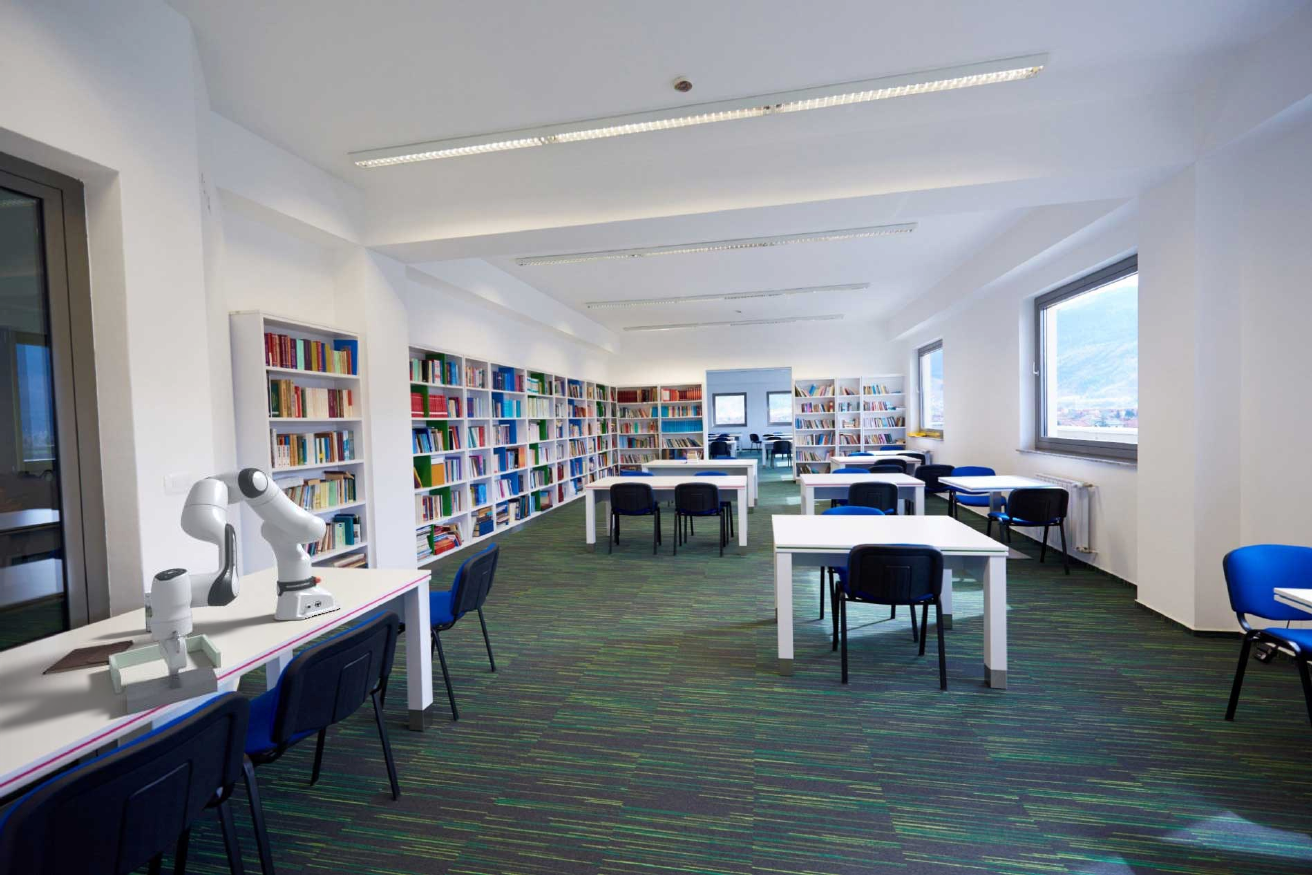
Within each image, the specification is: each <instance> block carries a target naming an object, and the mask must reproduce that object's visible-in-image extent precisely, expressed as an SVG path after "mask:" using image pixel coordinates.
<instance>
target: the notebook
mask: <svg viewBox="0 0 1312 875" xmlns="http://www.w3.org/2000/svg"><path fill="white" fill-rule="evenodd" d="M133 645H134V641H133V640H132V639H130V640H124V641H123V640H122V641H117V642H113V643H108V644H107V643H106V644H102V645H101V644H100V645H93V646H87V647H86V646H85V647H80V648H75V649H73V650H71V651H70V652H69V653H67V654H66V655H64V656H63V657H62V658H60V659H59V660H57V661H56V662H54V664H52V665H50V667H48V668H46V669H45V670H43V672H42V676H44V675H51V674H50V673H52V674H56V673H62V672H63V673H65V672H69V671H70V672H71V671H76V670H83V669H90V668H96V667H103V666H109V655H113V654H117V653H122V652H126V651H127V650H128V649H129V648H131V646H133Z"/></svg>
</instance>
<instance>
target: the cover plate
mask: <svg viewBox="0 0 1312 875" xmlns="http://www.w3.org/2000/svg"><path fill="white" fill-rule="evenodd" d="M218 685H219V684H218V677H217V675H216V672H215V670H214V668H213V666H212V664H211V665H206V666H202V667H198V668H194V669H190V670H185V671H181V672H178V673H176V674H172V675H169V674H168V675H164V676H160V677H157V678H156V677H155V678H152V679H148V680H143V681H139V682H135V683H134V682H133V683H131V684H126V686H125V687H126V708H127V709H126V710H127V711H126V712H127V716H130V715H133V714H137V713H141V712H146V711H148V710H149V711H150V710H153V709H156V708H161V707H163V706H167V705H171V704H176V703H179V702H182V701H186V700H191V699H194V698H198V697H201V696H205V695H209V694H213V693H217V692H218V691H219V690H218V689H219V688H218Z"/></svg>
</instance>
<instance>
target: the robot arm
mask: <svg viewBox="0 0 1312 875" xmlns="http://www.w3.org/2000/svg"><path fill="white" fill-rule="evenodd" d="M242 502H245V503H246V504H247V506H249V507H250V508H251V509H252V510H253V511H254V513H255V514H256V515H257V517H259V518H260V519H261V520H263V522H262V524H261V526H260V534H261V537H262V539H264V540H265V541H267V542H268V544H269V545H270V547H271V548H272V550H273V553H274V555H275V559H276V563H277V580H276V594H277V603H276V609H275V613H274V617H273V619H275V620H277V621H291V620H292V621H293V620H296V621H298V620H299V621H301V620H305V618H307V619H309V618H308V617H310V618H313V617H312V616H314V615H317V616H319V615H318V614H320V613H325V612H326V611H331V610H333V609H336V608H340V607H341V608H342V604H341V603H340V602H337V601H335V596H334V594H333V593H332V591H331V590H329V589H326V588H325V587H323V586H321V585H319V584H320V583H321V582H322V578H321V577H318V576H313V575H312V558H311V556H310V554H309V553H308V552H307V551H305V550H304V548H303V546H302V544H303V545H305V544H307V545H308V544H312V543H316V542H319V541H321V540H322V539H324V537H325V535H326V532H327V523H326V522H325V520H324V519H323V518H322V517H319V516H317V515H314V514H313V513H310V512H309V511H307V510H306V509H304V508H302V507H301V506H300V505H298V504H297V503H295V502H294V501H292V500H291V499H290V498H289V497H288V496H287V495H286V493H285V492H284V491H283V490H282V488H280V487H279V485H278V484H277V483H276V482H275V481H274V480H273V479H272V478H270V477H269V475H267V474H266V473H264V472H263V471H262V470H260V468H257V467H256V468H255V467H245V468H243V469H236V470H235V469H234V470H231V471H230V470H229V471H226V472H224V473H220V474H216V475H213V476H208V477H205V478H203V479H200V480H198V481H196V482H195V483H194V484H193V485H192V486H191V489H190V490H189V493H188V494H187V497H186V500H185V502H184V505H183V509H182V512H181V517H180V526H181V529H182V530H183V532H184V533H185V534H187V535H188V536H190V537H192V538H194V539H196V540H198V541H203V542H207V543H211V544H212V545H213V544H214V545H216V546H217V547H218V569H217V570H216V571H214V572H210V573H199V574H190V573H189V571H188V569H185V568H181V567H180V568H179V567H178V568H177V567H176V568H170V569H166V570H162V571H159V572H158V573H156V574H155V575H154V576H153V577H152V582H151V589H150V590H151V608H152V611H153V616H152V619H151V631H150V633H151V639H152V640H155V641H157V645H158V646H159V651H160V654H161V655H162V657H163V659H162V660H164V662H165V664H166V665H167V670H168V675H172V674H176V673H179V671H180V670H181V669H185V668H187V666H188V653H187V650H186V642H185V639H186V638H188V635H189V634H190V633H192V632H193V611H192V610H191V609H193V608H196V609H197V608H203V607H206V608H207V607H226V606H228V605H230V604H231V603H232V602H233V601H234V600H236V598H237V597H238V596H239V593H240V583H239V581H240V580H239V574H238V550H237V548H238V546H237V544H238V543H237V533H236V530H235V527H234V526H233V525H232V524H230V523H228V521H227V518H226V517H227V516H226V515H227V511H228V506H229V505H234V504H235V505H236V504H239V503H242ZM325 614H326V613H325ZM314 617H315V616H314Z"/></svg>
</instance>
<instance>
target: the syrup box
mask: <svg viewBox="0 0 1312 875" xmlns="http://www.w3.org/2000/svg"><path fill="white" fill-rule="evenodd" d="M144 611H145V612H144V616H145V632H151V619H152V616H153V611H152V608H151V589H150V590H148V591H145V592H144Z"/></svg>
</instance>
